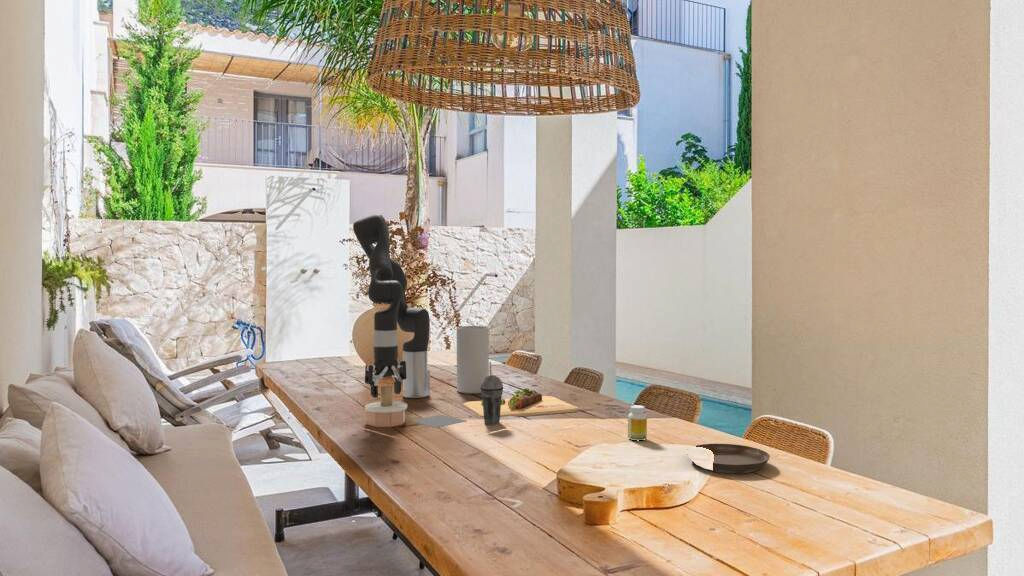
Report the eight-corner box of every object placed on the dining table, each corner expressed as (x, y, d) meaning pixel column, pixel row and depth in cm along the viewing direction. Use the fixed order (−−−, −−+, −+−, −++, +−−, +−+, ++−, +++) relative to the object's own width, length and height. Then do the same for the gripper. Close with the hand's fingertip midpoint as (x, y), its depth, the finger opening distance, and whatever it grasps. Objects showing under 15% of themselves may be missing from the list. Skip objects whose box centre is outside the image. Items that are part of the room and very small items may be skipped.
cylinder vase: (488, 394, 281) (488, 329, 280) (455, 394, 281) (455, 329, 280) (489, 388, 294) (489, 325, 293) (458, 388, 294) (458, 325, 293)
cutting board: (482, 421, 238) (482, 398, 238) (461, 407, 260) (461, 386, 260) (579, 413, 251) (580, 391, 251) (551, 400, 273) (551, 380, 272)
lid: (391, 402, 241) (390, 381, 240) (415, 408, 231) (415, 386, 231) (357, 408, 231) (357, 386, 231) (381, 414, 222) (381, 391, 222)
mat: (441, 416, 243) (441, 414, 243) (467, 422, 234) (467, 420, 234) (409, 422, 234) (409, 420, 234) (436, 429, 225) (435, 427, 225)
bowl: (390, 418, 239) (390, 403, 239) (411, 424, 232) (411, 408, 231) (361, 424, 231) (361, 408, 231) (382, 430, 224) (382, 413, 223)
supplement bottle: (624, 438, 214) (624, 405, 214) (639, 436, 217) (639, 403, 216) (635, 442, 210) (635, 409, 209) (650, 440, 212) (650, 407, 212)
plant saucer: (668, 460, 192) (668, 448, 192) (726, 450, 202) (726, 438, 202) (727, 482, 174) (727, 468, 174) (787, 470, 184) (787, 456, 184)
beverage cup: (507, 423, 233) (507, 360, 232) (497, 428, 226) (497, 363, 225) (486, 421, 236) (486, 359, 235) (476, 426, 229) (476, 362, 228)
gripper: (397, 341, 238) (397, 391, 239) (359, 345, 228) (360, 397, 229) (411, 343, 233) (411, 394, 234) (373, 347, 223) (374, 400, 223)
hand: (386, 395), depth 231 cm, fingers open, 8 cm apart
